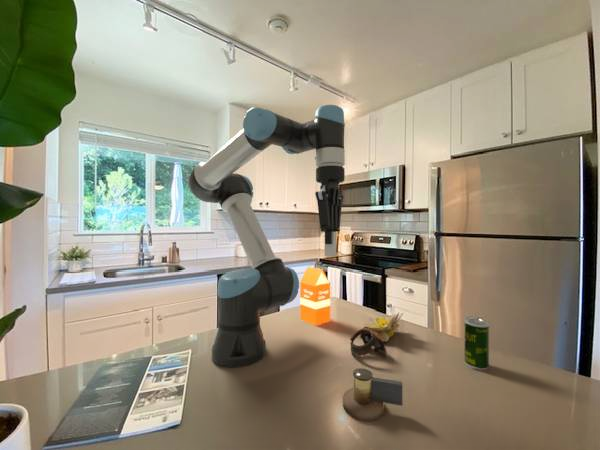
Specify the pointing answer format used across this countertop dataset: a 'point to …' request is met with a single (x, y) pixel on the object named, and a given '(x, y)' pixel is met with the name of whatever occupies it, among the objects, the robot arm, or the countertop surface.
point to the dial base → (361, 408)
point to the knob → (375, 388)
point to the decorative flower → (384, 325)
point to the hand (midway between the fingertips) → (330, 256)
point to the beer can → (477, 343)
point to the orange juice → (314, 297)
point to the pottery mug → (367, 342)
